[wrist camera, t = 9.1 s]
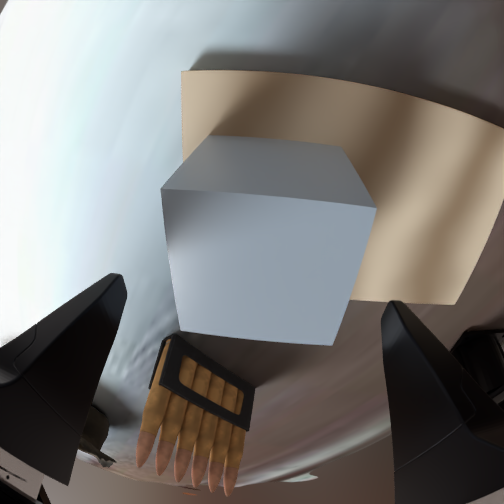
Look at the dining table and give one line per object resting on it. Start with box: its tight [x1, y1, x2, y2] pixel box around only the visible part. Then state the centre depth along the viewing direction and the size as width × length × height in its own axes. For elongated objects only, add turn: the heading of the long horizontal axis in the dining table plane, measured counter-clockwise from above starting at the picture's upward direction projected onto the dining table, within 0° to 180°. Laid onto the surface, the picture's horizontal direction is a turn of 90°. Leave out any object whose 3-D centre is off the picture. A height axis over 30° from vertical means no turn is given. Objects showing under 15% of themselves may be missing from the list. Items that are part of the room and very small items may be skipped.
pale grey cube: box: [161, 135, 377, 345], centre depth 13 cm, size 6×6×6 cm
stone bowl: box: [78, 406, 116, 468], centre depth 38 cm, size 25×25×9 cm
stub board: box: [181, 70, 504, 305], centre depth 14 cm, size 19×13×5 cm
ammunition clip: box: [136, 334, 255, 496], centre depth 23 cm, size 11×2×12 cm, turn 41°
